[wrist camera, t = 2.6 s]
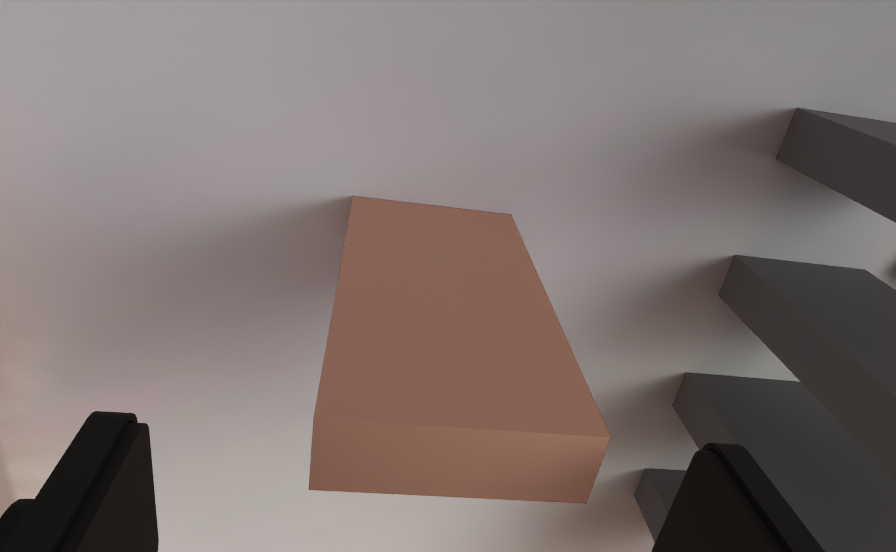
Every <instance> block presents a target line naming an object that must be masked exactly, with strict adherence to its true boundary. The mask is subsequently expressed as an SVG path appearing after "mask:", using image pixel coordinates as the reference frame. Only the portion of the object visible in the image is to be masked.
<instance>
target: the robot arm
mask: <svg viewBox="0 0 896 552" xmlns="http://www.w3.org/2000/svg"><path fill="white" fill-rule="evenodd" d="M0 552H158V529H157V517H156V505H155V494H154V482H153V470H152V459H151V447H150V435H149V427H148V425H147V424H146V423H138V422H137V417H136V415H135V414H133V413H119V412H100V411H95V412H93V413H91V414H90V416H89V417H88V418H87V420H86V421H85V423H84V424H83V426H82V427H81V429H80V430H79V432H78V433H77V435H76V436H75V438H74V439H73V441H72V443H71V444H70V446H69V447H68V449H67V450H66V452H65V453H64V455H63V456H62V458H61V459H60V461H59V462H58V464H57V466H56V467H55V469H54V470H53V472H52V473H51V475H50V476H49V478H48V479H47V481H46V482H45V484H44V485H43V487H42V488H41V490H40V492H39V493H38V495H37V496H36V498H35V499H19V500H17V501H16V502H14V503H13V504H11V506H10V507H9V508H8V509H7V510H6V511H5V512H4V514H3V515H2V516H1V518H0ZM652 552H825V551H824V550H823V548H822V547H821V546H820V544H819V543H818V542H817V541H816V539H815V538H814V537H813V535H812V534H811V533H810V531H809V530H808V529H807V528H806V526H805V525H804V524H803V522H802V521H801V520H800V518H799V517H798V516H797V514H796V513H795V512H794V511H793V509H792V508H791V507H790V505H789V504H788V503H787V501H786V500H785V499H784V497H783V496H782V495H781V494H780V492H779V491H778V490H777V488H776V487H775V486H774V484H773V483H772V482H771V480H770V479H769V478H768V477H767V475H766V474H765V473H764V471H763V470H762V469H761V467H760V466H759V465H758V463H757V462H756V461H755V460H754V458H753V457H752V456H751V454H750V453H749V452H748V450H747V449H746V448H745V447H743V446H742V445H739V444H726V443H707V444H706V445H704V446H703V448H702V449H701V451H697V452H696V453H695V454H694V456H693V458H692V460H691V463H690V465H689V467H688V469H687V472H686V474H685V476H684V478H683V481H682V483H681V485H680V488H679V490H678V492H677V494H676V497H675V499H674V501H673V503H672V506H671V508H670V510H669V512H668V515H667V517H666V519H665V522H664V524H663V526H662V528H661V531H660V533H659V535H658V537H657V540H656V542H655V544H654V547H653V549H652Z"/></svg>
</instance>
